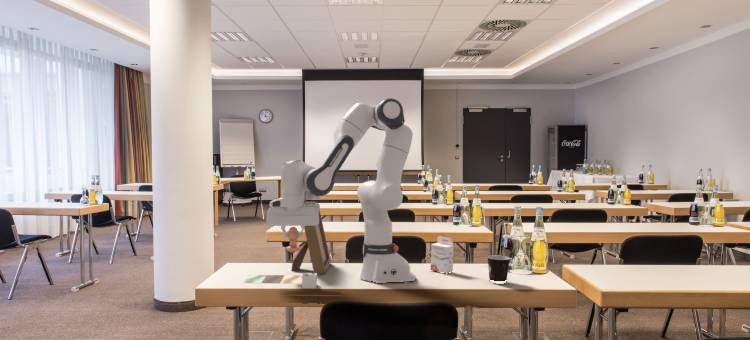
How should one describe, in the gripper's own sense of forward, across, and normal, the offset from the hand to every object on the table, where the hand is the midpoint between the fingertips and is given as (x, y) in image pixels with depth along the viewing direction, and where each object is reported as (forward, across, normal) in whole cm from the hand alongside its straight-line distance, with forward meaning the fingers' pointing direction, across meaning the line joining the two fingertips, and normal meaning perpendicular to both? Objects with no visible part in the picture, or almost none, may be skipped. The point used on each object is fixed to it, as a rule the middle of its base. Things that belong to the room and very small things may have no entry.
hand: (293, 237), depth 195 cm
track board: (+17, +8, 0) cm, 19 cm away
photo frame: (+18, -5, -19) cm, 26 cm away
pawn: (+5, 0, 0) cm, 5 cm away
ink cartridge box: (+19, -61, -16) cm, 66 cm away
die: (+17, -7, +10) cm, 21 cm away
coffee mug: (+19, -80, +2) cm, 82 cm away
